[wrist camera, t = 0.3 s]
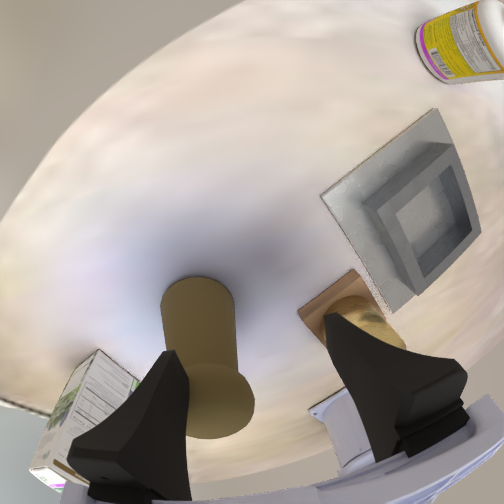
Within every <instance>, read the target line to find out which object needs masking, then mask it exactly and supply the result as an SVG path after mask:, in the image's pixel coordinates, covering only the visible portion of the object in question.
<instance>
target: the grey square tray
mask: <svg viewBox="0 0 504 504" xmlns="http://www.w3.org/2000/svg"><path fill="white" fill-rule="evenodd" d="M320 197H321V198H322V200H323V201H324V203H325V204H326V205H327V207H328V208H329V210H330V211H331V213H332V214H333V216H334V217H335V219H336V220H337V222H338V224H339V225H340V227H341V228H342V230H343V231H344V233H345V234H346V236H347V238H348V239H349V241H350V242H351V244H352V246H353V247H354V249H355V250H356V252H357V254H358V255H359V257H360V259H361V260H362V262H363V264H364V265H365V267H366V269H367V270H368V272H369V274H370V275H371V277H372V279H373V281H374V282H375V284H376V286H377V288H378V289H379V291H380V293H381V295H382V296H383V298H384V300H385V302H386V304H387V306H388V307H389V309H390V311H391V312H392V313H395V312H396V311H397V310H398V309H399V308H401V307H402V306H403V305H404V304H405V303H406V302H408V301H409V300H410V299H411V298H412V297H413V296H414V295H417V296H419V295H420V294H421V293H422V292H423V291H424V290H426V289H427V288H428V287H429V286H430V285H431V284H432V283H433V282H434V281H435V280H436V279H437V278H438V277H439V276H440V275H442V274H443V273H444V272H445V271H446V270H447V269H448V268H449V267H450V266H451V265H452V264H453V263H454V262H455V261H456V260H457V258H458V257H459V256H460V255H461V254H462V253H463V252H464V251H465V250H466V249H467V248H468V247H469V246H470V245H471V244H472V242H473V241H474V240H475V239H476V238H477V237H478V236H479V235H480V234H481V227H480V223H479V219H478V215H477V211H476V207H475V204H474V200H473V197H472V193H471V190H470V187H469V184H468V181H467V178H466V175H465V172H464V169H463V166H462V164H461V161H460V158H459V156H458V153H457V151H456V148H455V146H454V143H453V141H452V139H451V136H450V134H449V132H448V130H447V127H446V125H445V123H444V121H443V119H442V117H441V115H440V113H439V111H438V109H437V108H433V109H432V110H431V111H429V112H428V113H427V114H425V115H424V116H423V117H421V118H420V119H419V120H418V121H416V122H415V123H414V124H412V125H411V126H410V127H409V128H407V129H406V130H405V131H403V132H402V133H401V134H399V135H398V136H397V137H396V138H394V139H393V140H392V141H390V142H389V143H388V144H386V145H385V146H384V147H383V148H381V149H380V150H379V151H377V152H376V153H375V154H374V155H372V156H371V157H370V158H368V159H367V160H366V161H365V162H363V163H362V164H361V165H359V166H358V167H357V168H355V169H354V170H353V171H352V172H350V173H349V174H348V175H346V176H345V177H344V178H343V179H341V180H340V181H339V182H337V183H336V184H335V185H334V186H332V187H331V188H330V189H328V190H327V191H326V192H324V193H323V194H322V195H321V196H320Z"/></svg>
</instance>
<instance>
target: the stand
mask: <svg viewBox="0 0 504 504" xmlns="http://www.w3.org/2000/svg"><path fill="white" fill-rule="evenodd" d="M351 295H359V296H362V297H365V298H366V299H367V300H369V302H370V303H371V304H372V305H373V306H374V307H375V308H376V310H377V311H378V312H379V313H380V314H381V315H382V317H383V318H384V319H385V320H386V318H385V316H384V314H383V313H382V311H381V309H380V307H379V306H378V304H377V302H376V301H375V299H374V297H373V295H372V294H371V292H370V290H369V289H368V287H367V285H366V284H365V282H364V281H363V279H362V277H361V276H360V275H359V274H358V273H357V272H356V271H355V270H354V269H352V270H351V271H350V272H349V273H347V274H346V275H345V276H343V277H342V278H341V279H340V280H338V281H337V282H336V283H334V284H333V285H332V286H331V287H329V288H328V289H327V290H325V291H324V292H323V293H321V294H320V295H319V296H317V297H316V298H315V299H313V300H312V301H311V302H309V303H308V304H306V305H305V306H304V307H302V308H301V309H300V310H298V313H299V315H300V317H301V320H302V321H303V322H304V323H305V325H306V326H307V327H308V328H309V329H310V330H311V331H312V332H313V334H314V335H315V336H316V337H317V338H318V339H319V340H320V341H321V343H322V344H323V345H324V346H325V347H326V348H327V345H326V340H325V338H324V336H323V334H322V332H321V321H322V318H323V316H324V314H325V312H326V311H327V309H328V308H329V307H330V306H331V305H332V304H333V303H335V302H336V301H338V300H339V299H341V298H344V297H347V296H351Z"/></svg>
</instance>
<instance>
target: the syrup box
mask: <svg viewBox="0 0 504 504" xmlns="http://www.w3.org/2000/svg"><path fill="white" fill-rule="evenodd" d="M139 384H140V383H139V381H138V380H136V379H135V378H134V377H133V376H131V375H130V374H129V373H127V372H126V371H125V370H124V369H122V368H121V367H120V366H118V365H117V364H116V363H115V362H114V361H112V360H111V359H110V358H109V357H107V356H106V355H105V354H104V353H102V352H101V351H100V350H97V351H96V352H95V353H93V354H92V355H91V356H90V357H89V358H88V359H87V360H85V361H84V362H83V363H82V364H81V365H80V366H78V367H77V368H76V369H75V370H74V371H73V373H72V375H71V377H70V379H69V381H68V383H67V384H66V386H65V388H64V390H63V392H62V394H61V396H60V398H59V400H58V402H57V404H56V406H55V409H54V411H53V413H52V415H51V417H50V419H49V421H48V423H47V426H46V428H45V430H44V433H43V435H42V437H41V440H40V442H39V444H38V447H37V449H36V452H35V454H34V457H33V460H32V462H31V465H30V467H29V470H30V472H31V473H32V474H33V475H34V476H36V477H37V478H38V479H40V480H41V481H42V482H44V483H45V484H47V485H48V486H49V487H51V488H53V489H55V490H56V491H58V492H60V493H62V492H63V488H64V485H65V481H69V482H74V483H78V484H82V485H85V486H87V487H89V484H90V482H89V481H88V480H86V479H85V478H84V477H82V476H81V475H80V474H78V473H77V472H76V471H74V470H73V469H72V468H71V467H70V466H69V464H68V463H67V460H66V458H67V455H68V452H69V449H70V446H71V443H72V440H73V439H74V438H76V437H78V436H80V435H82V434H83V433H85V432H87V431H89V430H90V429H92V428H93V427H95V426H96V425H98V424H99V423H101V422H102V421H103V420H105V419H106V418H107V417H108V416H109V415H111V414H112V413H113V412H114V411H115V410H116V409H118V408H119V407H120V406H121V405H122V404H123V403H124V402H125V401H126V400H127V398H128V397H129V396H130V395H131V394H132V393H133V392H134V390H135V389H136V388H137V387H138V385H139Z"/></svg>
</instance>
